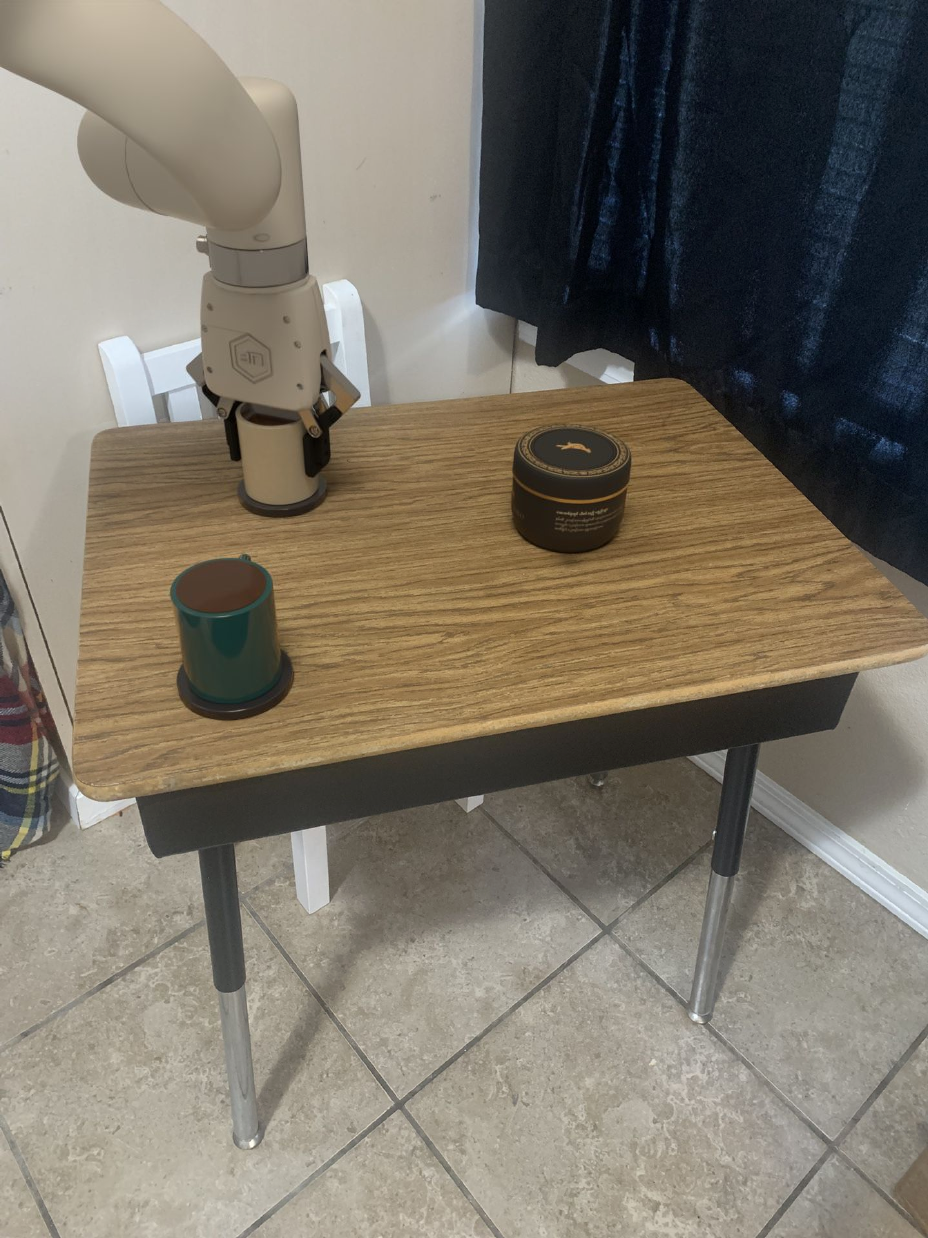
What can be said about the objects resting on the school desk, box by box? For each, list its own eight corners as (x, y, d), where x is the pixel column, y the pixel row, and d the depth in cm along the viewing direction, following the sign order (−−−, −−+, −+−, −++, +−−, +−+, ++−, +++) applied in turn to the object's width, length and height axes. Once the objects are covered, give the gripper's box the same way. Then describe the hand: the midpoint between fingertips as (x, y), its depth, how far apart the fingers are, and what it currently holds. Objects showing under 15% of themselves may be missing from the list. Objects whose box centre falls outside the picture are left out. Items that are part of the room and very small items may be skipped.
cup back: (302, 510, 86) (295, 432, 81) (232, 498, 87) (221, 420, 82) (339, 460, 93) (335, 385, 88) (275, 450, 94) (267, 375, 89)
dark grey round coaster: (239, 521, 85) (238, 513, 85) (236, 475, 91) (235, 468, 91) (331, 513, 87) (330, 505, 86) (322, 468, 93) (321, 461, 92)
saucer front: (177, 727, 65) (175, 718, 65) (178, 651, 71) (176, 643, 71) (297, 712, 67) (297, 703, 66) (289, 639, 73) (288, 630, 72)
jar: (498, 499, 89) (503, 423, 85) (604, 492, 91) (614, 417, 86) (521, 561, 82) (527, 482, 77) (636, 553, 83) (649, 474, 78)
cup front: (271, 707, 66) (260, 619, 61) (174, 701, 66) (156, 613, 61) (297, 621, 73) (289, 537, 69) (210, 616, 73) (196, 531, 69)
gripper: (135, 258, 75) (171, 463, 87) (340, 291, 71) (350, 502, 82) (188, 231, 81) (216, 426, 92) (381, 260, 77) (386, 461, 88)
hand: (279, 460), depth 87 cm, fingers closed on cup back, 6 cm apart
